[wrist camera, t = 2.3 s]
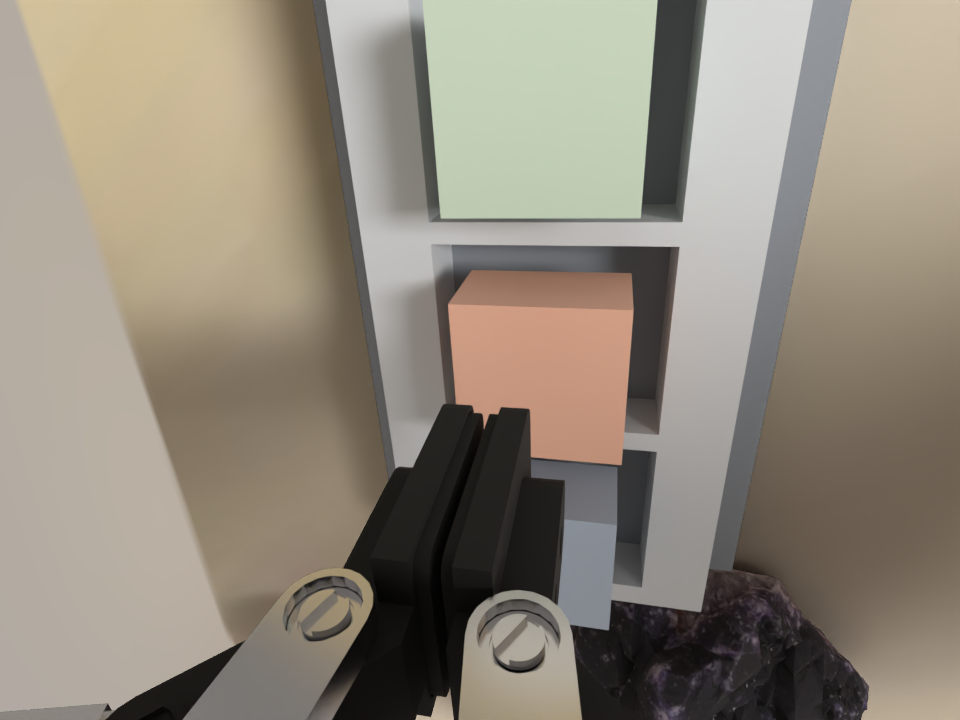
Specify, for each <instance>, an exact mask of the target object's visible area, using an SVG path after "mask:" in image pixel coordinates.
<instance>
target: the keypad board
mask: <svg viewBox="0 0 960 720" xmlns="http://www.w3.org/2000/svg"><path fill="white" fill-rule="evenodd" d="M851 1H852V0H658V1H657V14H656V27H655V40H654V53H653V66H652V79H651V92H650V105H649V117H648V130H647V143H646V156H645V169H644V182H643V195H642V208H641V218H467V219H441V216H440V204H439V192H438V180H437V168H436V156H435V144H434V133H433V121H432V109H431V97H430V85H429V73H428V61H427V49H426V37H425V25H424V13H423V1H422V0H313V6H314V12H315V18H316V25H317V31H318V37H319V44H320V50H321V56H322V63H323V69H324V75H325V81H326V88H327V94H328V100H329V107H330V113H331V119H332V126H333V132H334V138H335V145H336V151H337V157H338V163H339V170H340V176H341V182H342V189H343V195H344V201H345V208H346V214H347V220H348V226H349V233H350V239H351V245H352V252H353V258H354V264H355V271H356V277H357V283H358V290H359V296H360V302H361V308H362V315H363V321H364V327H365V334H366V340H367V346H368V353H369V359H370V365H371V372H372V378H373V384H374V390H375V397H376V403H377V409H378V416H379V422H380V428H381V435H382V441H383V447H384V454H385V460H386V466H387V472H388V479H390V477H391V475H392V473H393V472H394V470H395V469H396V468H397V467H399V466H400V467H412V468H413V466H414V464H415V462H416V459H417V457H418V455H419V453H420V451H421V449H422V447H423V445H424V443H425V441H426V438H427V436H428V434H429V432H430V430H431V428H432V426H433V424H434V422H435V420H436V417H437V415H438V413H439V411H440V409H441V407H442V405H443V404H456V396H455V384H454V372H453V360H452V348H451V336H450V324H449V312H448V303H449V302H450V301H451V299H452V298H453V296H454V295H455V293H456V292H457V291H458V289H459V288H460V286H461V285H462V283H463V282H464V281H465V279H466V278H467V276H468V275H469V274H470V272H471V271H472V270H495V271H547V272H599V273H632V290H633V308H634V312H633V325H632V338H631V351H630V364H629V377H628V390H627V403H626V416H625V429H624V441H623V454H622V465H613V464H602V463H591V462H580V461H568V460H557V459H546V458H535V457H531V460H541V461H552V462H564V463H575V464H586V465H597V466H608V467H617V532H616V545H615V558H614V571H613V584H612V597H611V600H616V601H624V602H631V603H638V604H645V605H652V606H660V607H667V608H674V609H681V610H688V611H696V612H701V609H702V604H703V598H704V593H705V587H706V582H707V576H708V571H709V569H715V570H723V571H731V572H732V568H733V563H734V559H735V554H736V549H737V544H738V539H739V535H740V530H741V525H742V520H743V516H744V511H745V506H746V501H747V497H748V492H749V487H750V482H751V478H752V473H753V468H754V463H755V458H756V454H757V449H758V444H759V439H760V435H761V430H762V425H763V420H764V416H765V411H766V406H767V401H768V396H769V392H770V387H771V382H772V377H773V373H774V368H775V363H776V358H777V354H778V349H779V344H780V339H781V335H782V330H783V325H784V320H785V315H786V311H787V306H788V301H789V296H790V292H791V287H792V282H793V277H794V273H795V268H796V263H797V258H798V253H799V249H800V244H801V239H802V234H803V230H804V225H805V220H806V215H807V211H808V206H809V201H810V196H811V192H812V187H813V182H814V177H815V172H816V168H817V163H818V158H819V153H820V149H821V144H822V139H823V134H824V130H825V125H826V120H827V115H828V110H829V106H830V101H831V96H832V91H833V87H834V82H835V77H836V72H837V68H838V63H839V58H840V53H841V49H842V44H843V39H844V34H845V29H846V25H847V20H848V15H849V10H850V6H851Z"/></svg>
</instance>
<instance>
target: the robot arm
mask: <svg viewBox="0 0 960 720" xmlns="http://www.w3.org/2000/svg"><path fill="white" fill-rule="evenodd" d="M564 513H565V480H556V479H544V478H532V477H531V424H530V410H529V409H526V408H509V407H501V408H500V410H499V414H489V416H488V419H487V422H486V425H485V428H484V421H483V415H482V413H474V410H473V407H472V405H459V404H443V405H442V407H441V409H440V411H439V413H438V415H437V417H436V420H435V422H434V424H433V426H432V428H431V430H430V432H429V434H428V436H427V438H426V441H425V443H424V445H423V447H422V449H421V451H420V453H419V455H418V457H417V459H416V462H415V464H414V466H413V468H412V467H400V466H399V467H397V468H396V469H395V470H394V472H393V473H392V475H391V477H390V479H389V481H388V483H387V485H386V487H385V489H384V490H383V492H382V494H381V496H380V498H379V500H378V502H377V504H376V506H375V508H374V510H373V512H372V514H371V515H370V517H369V519H368V521H367V523H366V525H365V527H364V529H363V531H362V533H361V535H360V537H359V539H358V540H357V542H356V544H355V546H354V548H353V550H352V552H351V554H350V556H349V558H348V560H347V562H346V564H345V566H344V567H343V568H330V569H323V570H319V571H316V572H314V573H311V574H308V575H306V576H304V577H303V578H301V579H300V580H298V581H296V582H295V583H293V584H292V585H291V586H290V587H289V588H288V589H287V590H286V591H285V592H284V593H283V594H282V595H281V596H280V598H279V599H278V600H277V602H276V603H275V604H274V605H273V607H272V608H271V609H270V610H269V612H268V613H267V614H266V615H265V617H264V618H263V619H262V620H261V622H260V623H259V624H258V625H257V627H256V628H255V629H254V630H253V632H252V633H251V634H250V635H249V637H248V638H247V639H246V640H245V641H243V642H241V643H239V644H237V645H235V646H233V647H231V648H230V649H228V650H226V651H224V652H222V653H220V654H218V655H216V656H214V657H212V658H210V659H208V660H206V661H204V662H202V663H200V664H198V665H196V666H195V667H193V668H191V669H189V670H187V671H185V672H183V673H181V674H179V675H177V676H175V677H173V678H171V679H169V680H167V681H165V682H163V683H161V684H160V685H158V686H156V687H154V688H152V689H150V690H148V691H146V692H144V693H142V694H140V695H138V696H136V697H135V698H133V699H132V700H130V701H128V702H127V703H125V704H124V705H122V706H120V707H119V708H117V709H116V710H113V711H112V710H111V708H110V707H109V705H108V704H107V703H106V704H94V705H81V706H69V707H56V708H44V709H31V710H19V711H6V712H0V720H415V719H416V716H417V715H423V716H428V717H431V715H432V711H433V707H434V704H435V700H436V696H442V697H446V696H447V694H448V692H449V689H450V690H451V698H452V706H453V715H454V720H633V719H632V718H631V717H630V716H629V714H628V713H627V712H626V711H625V710H624V709H623V708H622V707H621V706H620V705H619V704H618V702H617V701H616V700H615V699H614V698H613V697H612V696H611V695H610V694H609V693H608V691H607V690H606V689H605V688H604V687H603V686H602V685H601V684H600V683H599V682H598V681H597V679H596V678H595V677H594V676H593V675H592V674H591V673H590V672H589V671H588V670H587V669H586V667H585V666H584V665H583V664H582V663H581V662H580V661H579V660H578V659H577V658H576V657H575V653H574V644H573V635H572V631H571V628H570V624H569V621H568V619H567V617H566V616H565V614H564V613H563V612H562V610H561V609H560V607H559V606H558V598H559V586H560V575H561V564H562V552H563V536H564Z"/></svg>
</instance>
